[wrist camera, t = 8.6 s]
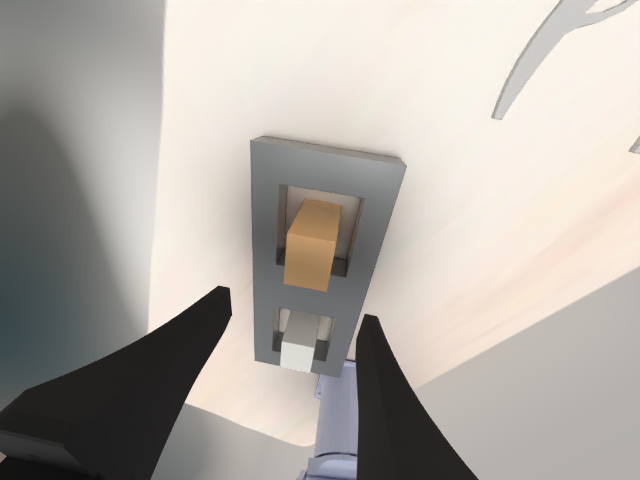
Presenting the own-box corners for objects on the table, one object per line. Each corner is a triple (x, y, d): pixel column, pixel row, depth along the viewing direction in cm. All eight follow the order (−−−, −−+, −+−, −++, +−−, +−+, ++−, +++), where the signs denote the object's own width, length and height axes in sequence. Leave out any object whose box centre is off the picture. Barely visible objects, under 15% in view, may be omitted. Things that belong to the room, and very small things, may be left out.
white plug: (317, 330, 27) (309, 373, 23) (291, 325, 27) (279, 367, 23) (321, 306, 25) (314, 348, 21) (294, 301, 25) (281, 341, 21)
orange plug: (333, 245, 21) (326, 291, 16) (300, 240, 21) (283, 283, 16) (341, 204, 19) (336, 242, 14) (305, 198, 19) (287, 233, 14)
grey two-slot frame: (340, 357, 29) (339, 378, 27) (262, 341, 29) (254, 360, 27) (400, 158, 17) (406, 166, 14) (263, 135, 17) (250, 140, 15)
